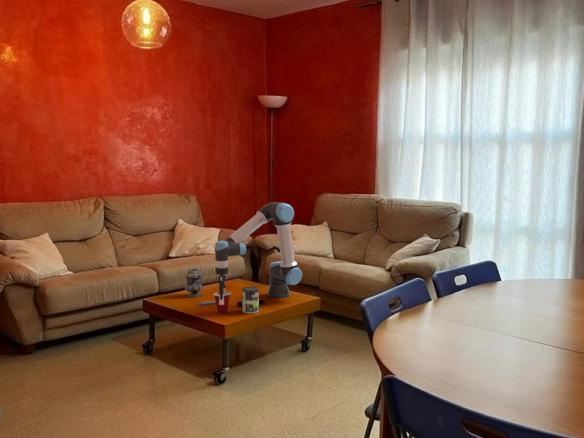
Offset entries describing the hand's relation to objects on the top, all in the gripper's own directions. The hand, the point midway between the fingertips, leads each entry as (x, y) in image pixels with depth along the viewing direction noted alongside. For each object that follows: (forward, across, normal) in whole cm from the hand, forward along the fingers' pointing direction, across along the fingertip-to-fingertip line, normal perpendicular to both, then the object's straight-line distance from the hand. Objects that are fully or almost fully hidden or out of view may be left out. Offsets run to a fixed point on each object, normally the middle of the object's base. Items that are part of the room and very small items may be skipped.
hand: (222, 301), depth 333 cm
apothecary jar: (+7, -41, -21) cm, 47 cm away
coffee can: (+7, -1, +17) cm, 18 cm away
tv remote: (+7, -19, -8) cm, 22 cm away
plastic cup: (+7, 0, 0) cm, 7 cm away
